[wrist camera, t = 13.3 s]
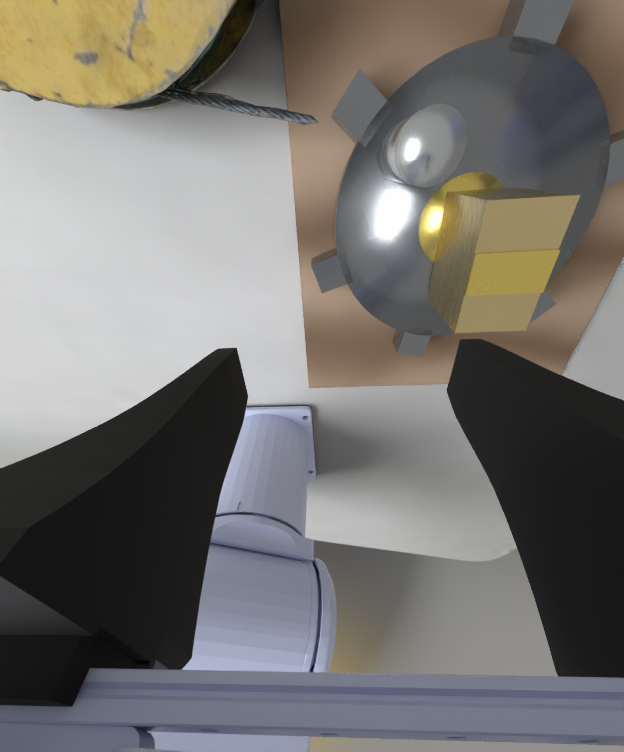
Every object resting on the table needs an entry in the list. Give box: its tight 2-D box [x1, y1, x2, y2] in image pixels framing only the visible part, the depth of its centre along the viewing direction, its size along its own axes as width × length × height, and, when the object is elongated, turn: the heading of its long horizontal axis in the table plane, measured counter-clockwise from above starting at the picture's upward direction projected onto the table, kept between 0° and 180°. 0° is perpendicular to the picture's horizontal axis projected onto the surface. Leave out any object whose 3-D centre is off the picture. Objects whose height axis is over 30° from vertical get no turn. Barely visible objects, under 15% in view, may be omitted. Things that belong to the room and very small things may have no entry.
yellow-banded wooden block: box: [428, 187, 580, 333], centre depth 13 cm, size 5×3×4 cm, turn 3°
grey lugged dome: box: [311, 0, 624, 356], centre depth 13 cm, size 15×14×6 cm
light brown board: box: [279, 0, 624, 388], centre depth 16 cm, size 20×18×1 cm
